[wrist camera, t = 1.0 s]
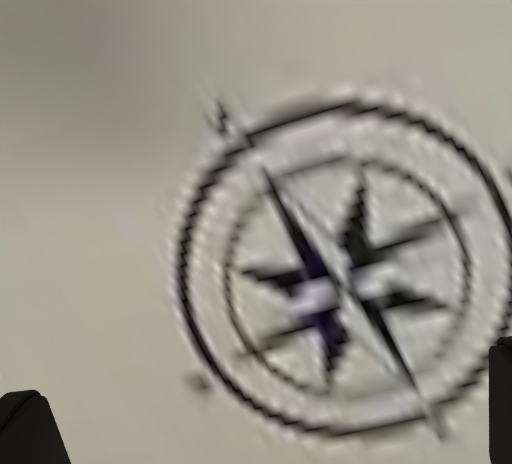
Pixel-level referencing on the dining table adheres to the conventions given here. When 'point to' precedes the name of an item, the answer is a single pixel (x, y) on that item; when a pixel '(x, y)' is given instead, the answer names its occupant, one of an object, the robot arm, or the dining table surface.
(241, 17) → the dining table surface
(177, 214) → the dining table surface
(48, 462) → the robot arm
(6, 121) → the dining table surface
